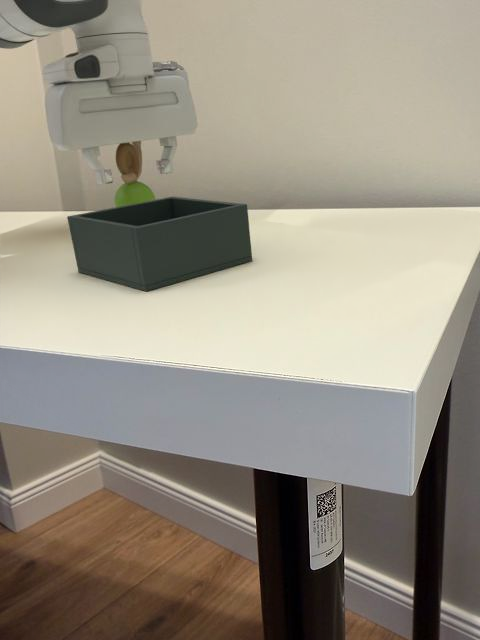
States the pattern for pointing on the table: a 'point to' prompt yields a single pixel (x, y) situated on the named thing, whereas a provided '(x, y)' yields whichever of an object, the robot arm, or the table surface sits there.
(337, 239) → the table surface
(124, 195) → the snail figurine
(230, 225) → the bin
